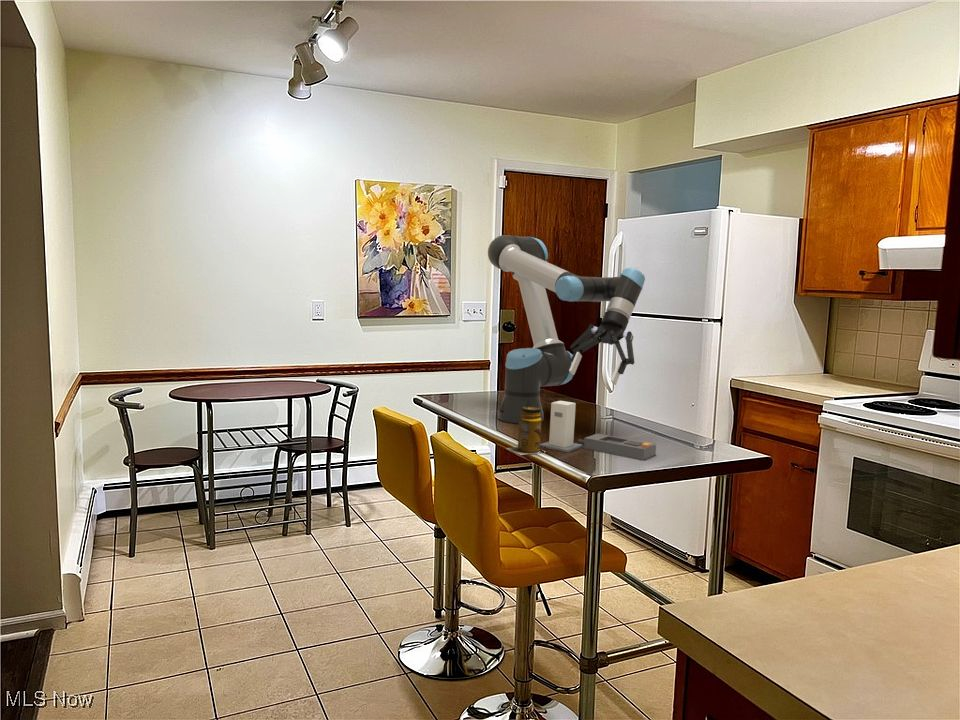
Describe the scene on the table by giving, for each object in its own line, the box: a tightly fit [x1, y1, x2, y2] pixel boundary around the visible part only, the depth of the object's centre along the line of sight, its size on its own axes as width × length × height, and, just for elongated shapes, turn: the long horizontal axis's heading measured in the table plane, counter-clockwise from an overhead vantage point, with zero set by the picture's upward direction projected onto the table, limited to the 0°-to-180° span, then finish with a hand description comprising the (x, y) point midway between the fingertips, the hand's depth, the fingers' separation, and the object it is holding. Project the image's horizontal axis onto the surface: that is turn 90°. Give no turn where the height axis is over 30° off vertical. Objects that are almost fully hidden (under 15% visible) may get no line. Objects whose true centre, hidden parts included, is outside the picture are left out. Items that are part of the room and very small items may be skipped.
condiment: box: [505, 406, 546, 456], centre depth 195 cm, size 7×8×12 cm
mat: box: [540, 441, 584, 453], centre depth 202 cm, size 9×9×1 cm
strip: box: [576, 433, 657, 461], centre depth 201 cm, size 22×8×4 cm, turn 53°
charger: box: [548, 400, 577, 448], centre depth 202 cm, size 5×5×12 cm
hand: (591, 377), depth 209 cm, fingers open, 13 cm apart
